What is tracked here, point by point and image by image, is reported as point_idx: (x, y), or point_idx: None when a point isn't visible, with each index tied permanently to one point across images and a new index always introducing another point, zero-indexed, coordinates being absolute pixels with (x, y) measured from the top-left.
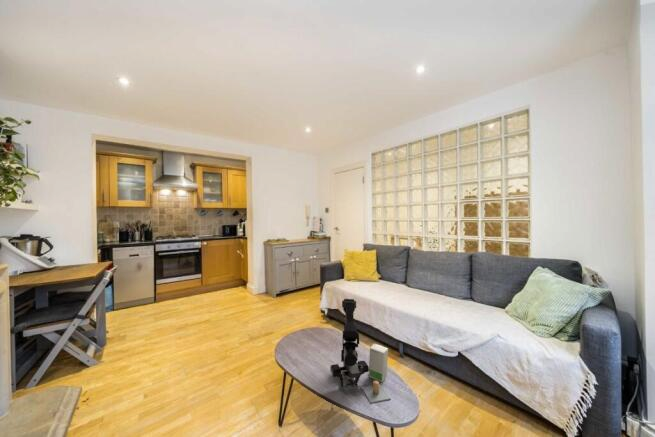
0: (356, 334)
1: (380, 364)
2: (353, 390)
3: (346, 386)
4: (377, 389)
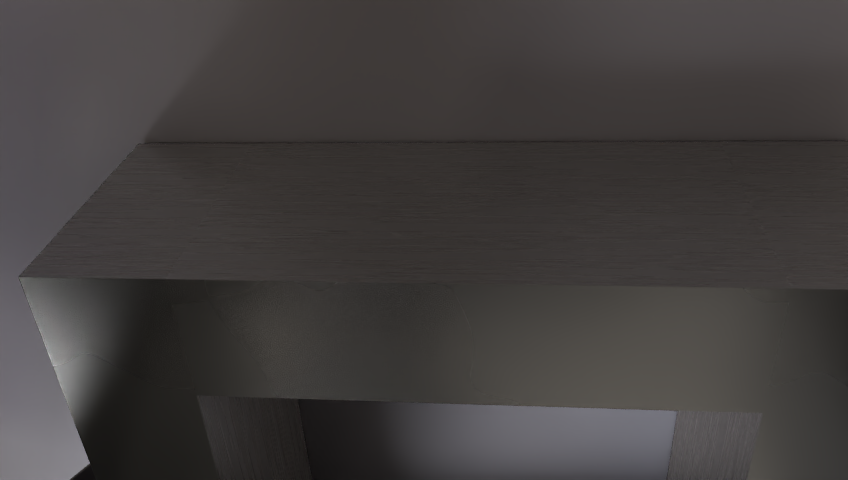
0: None
1: None
2: (372, 169)
3: (775, 391)
4: None
